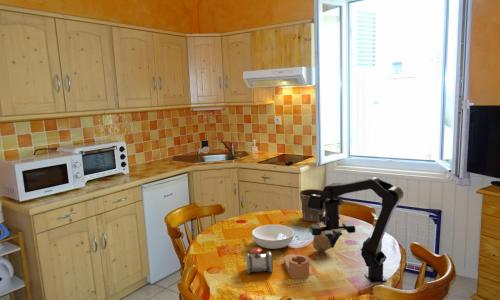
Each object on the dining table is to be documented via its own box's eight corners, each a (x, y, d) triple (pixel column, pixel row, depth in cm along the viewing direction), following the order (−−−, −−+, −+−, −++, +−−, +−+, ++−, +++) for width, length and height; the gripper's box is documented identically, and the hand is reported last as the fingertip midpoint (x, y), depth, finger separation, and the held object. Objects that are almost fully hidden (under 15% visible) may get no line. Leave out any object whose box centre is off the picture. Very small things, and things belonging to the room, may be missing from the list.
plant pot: (311, 212, 230) (311, 187, 227) (332, 218, 218) (332, 192, 215) (293, 218, 220) (293, 192, 217) (314, 225, 207) (314, 198, 205)
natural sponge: (335, 250, 175) (335, 230, 173) (328, 257, 168) (328, 237, 166) (317, 246, 180) (317, 227, 178) (310, 253, 173) (310, 233, 171)
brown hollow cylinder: (311, 278, 150) (311, 263, 149) (291, 280, 149) (291, 264, 148) (300, 259, 168) (299, 244, 167) (282, 260, 167) (282, 246, 166)
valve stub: (270, 266, 162) (269, 244, 161) (273, 275, 154) (272, 253, 152) (246, 268, 161) (245, 246, 160) (248, 277, 153) (247, 255, 151)
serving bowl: (289, 256, 171) (288, 242, 170) (246, 251, 178) (246, 237, 176) (298, 238, 190) (297, 226, 189) (259, 235, 197) (259, 222, 196)
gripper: (346, 205, 165) (346, 238, 167) (306, 208, 163) (306, 241, 166) (356, 213, 154) (355, 248, 156) (312, 216, 152) (312, 252, 155)
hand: (332, 247), depth 159 cm, fingers closed
